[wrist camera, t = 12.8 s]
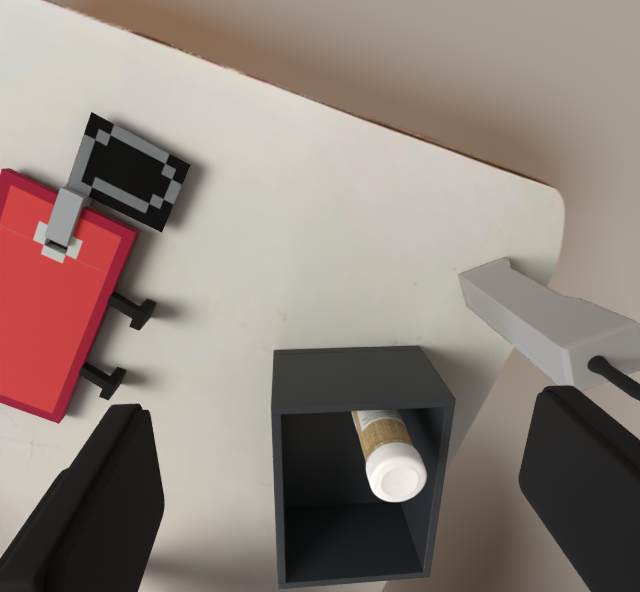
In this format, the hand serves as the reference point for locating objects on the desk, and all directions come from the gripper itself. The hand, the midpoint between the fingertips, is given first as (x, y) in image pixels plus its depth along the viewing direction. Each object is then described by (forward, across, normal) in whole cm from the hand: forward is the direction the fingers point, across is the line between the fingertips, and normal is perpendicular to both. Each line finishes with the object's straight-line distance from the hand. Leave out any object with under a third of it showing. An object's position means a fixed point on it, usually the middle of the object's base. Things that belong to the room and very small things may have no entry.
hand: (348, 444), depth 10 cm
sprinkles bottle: (+29, -7, +17) cm, 35 cm away
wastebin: (+30, -5, +24) cm, 39 cm away
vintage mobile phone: (+30, -19, +6) cm, 36 cm away
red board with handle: (+30, +21, +5) cm, 37 cm away
